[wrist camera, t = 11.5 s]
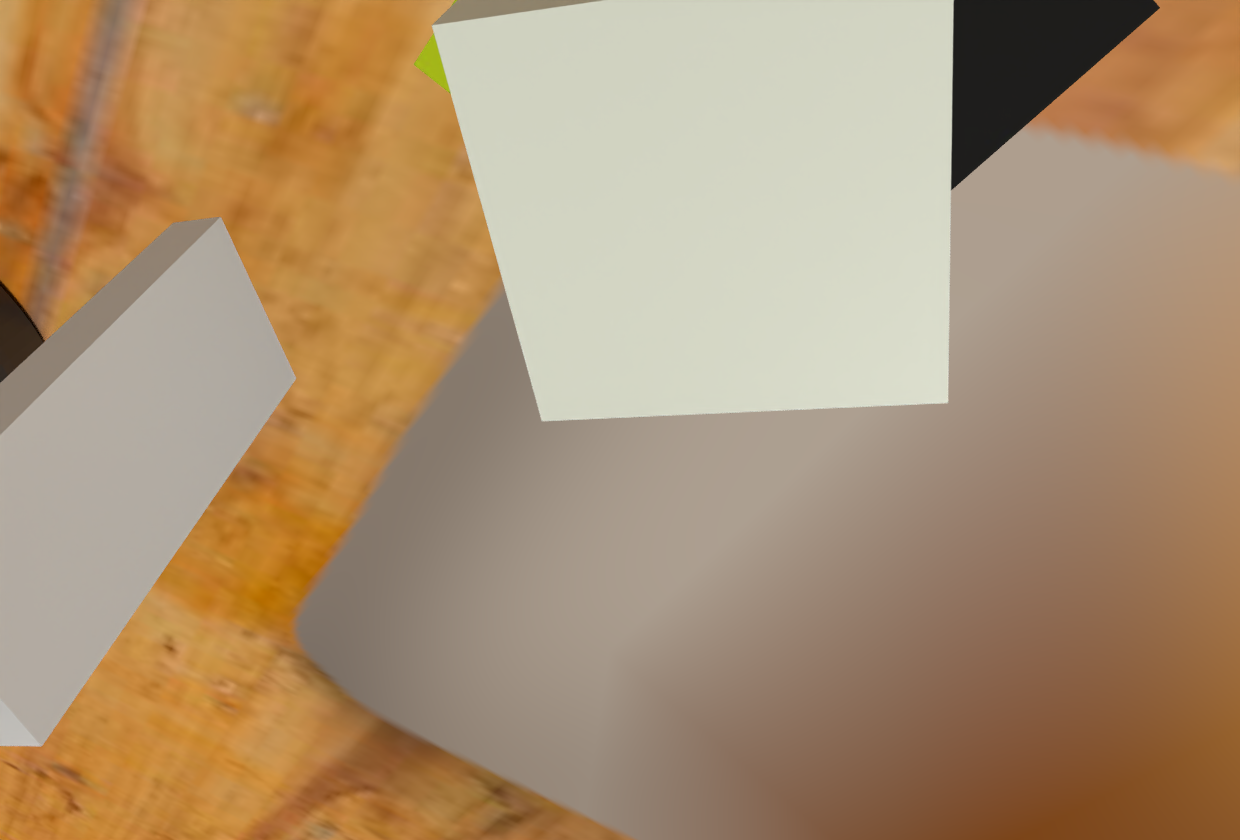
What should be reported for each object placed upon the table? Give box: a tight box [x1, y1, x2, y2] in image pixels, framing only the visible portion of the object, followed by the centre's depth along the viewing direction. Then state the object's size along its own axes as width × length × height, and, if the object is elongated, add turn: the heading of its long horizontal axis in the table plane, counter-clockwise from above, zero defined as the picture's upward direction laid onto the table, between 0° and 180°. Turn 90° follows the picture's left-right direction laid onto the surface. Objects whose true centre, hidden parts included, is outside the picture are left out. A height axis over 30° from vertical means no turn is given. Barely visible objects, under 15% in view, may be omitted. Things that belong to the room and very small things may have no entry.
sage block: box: [432, 0, 954, 421], centre depth 16 cm, size 6×6×8 cm
